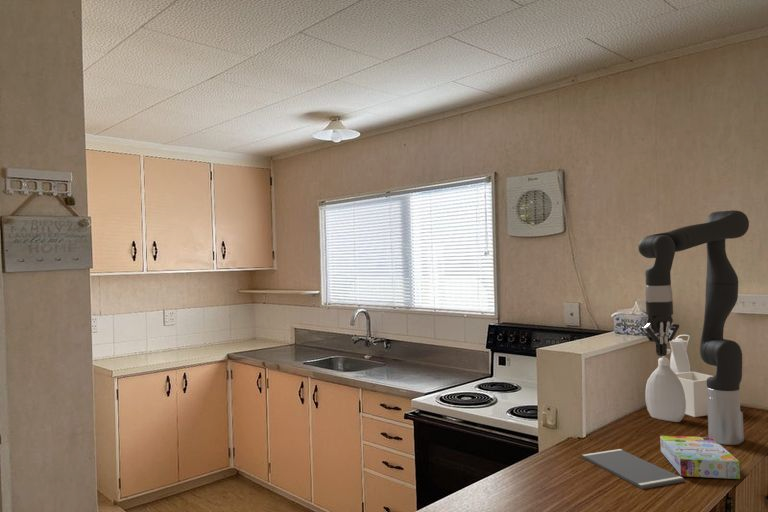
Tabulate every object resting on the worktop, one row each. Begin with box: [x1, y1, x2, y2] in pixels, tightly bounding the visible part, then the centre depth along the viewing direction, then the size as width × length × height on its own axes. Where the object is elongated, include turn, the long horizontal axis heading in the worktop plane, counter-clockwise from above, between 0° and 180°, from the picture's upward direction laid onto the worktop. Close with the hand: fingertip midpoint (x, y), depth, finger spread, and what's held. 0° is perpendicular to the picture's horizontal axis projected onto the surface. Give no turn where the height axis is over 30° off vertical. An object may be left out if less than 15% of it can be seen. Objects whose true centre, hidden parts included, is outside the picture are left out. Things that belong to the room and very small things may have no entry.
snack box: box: [659, 435, 741, 480], centre depth 166 cm, size 21×6×15 cm
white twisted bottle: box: [669, 334, 691, 373], centre depth 233 cm, size 8×8×28 cm
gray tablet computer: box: [580, 448, 686, 490], centre depth 165 cm, size 14×26×1 cm, turn 17°
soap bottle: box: [644, 348, 686, 423], centre depth 211 cm, size 14×8×27 cm, turn 39°
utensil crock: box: [675, 371, 714, 418], centre depth 219 cm, size 14×14×14 cm
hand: (661, 355), depth 176 cm, fingers closed
